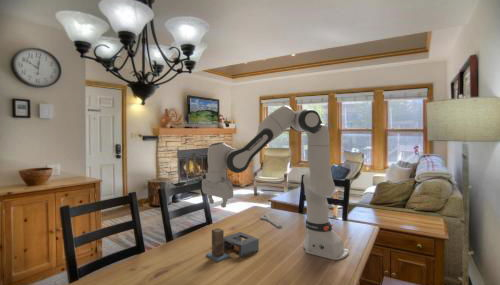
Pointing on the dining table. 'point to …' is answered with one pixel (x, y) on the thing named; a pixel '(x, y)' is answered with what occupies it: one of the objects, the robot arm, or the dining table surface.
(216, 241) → the brown block
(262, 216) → the adjustable wrench
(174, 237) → the dining table surface
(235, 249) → the button
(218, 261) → the pad
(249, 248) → the guard
